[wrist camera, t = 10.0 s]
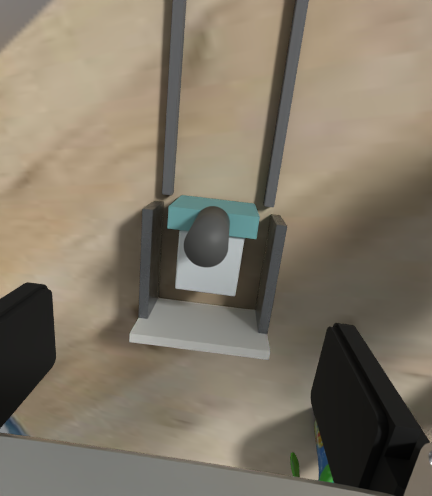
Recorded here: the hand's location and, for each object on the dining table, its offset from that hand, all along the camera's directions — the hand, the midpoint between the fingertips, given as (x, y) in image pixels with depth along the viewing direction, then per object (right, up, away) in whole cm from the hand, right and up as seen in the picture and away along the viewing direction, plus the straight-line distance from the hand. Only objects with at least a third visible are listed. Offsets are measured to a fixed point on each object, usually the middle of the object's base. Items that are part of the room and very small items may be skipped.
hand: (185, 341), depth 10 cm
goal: (0, +2, +26) cm, 26 cm away
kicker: (+1, +7, +24) cm, 25 cm away
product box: (+1, +4, +26) cm, 26 cm away
